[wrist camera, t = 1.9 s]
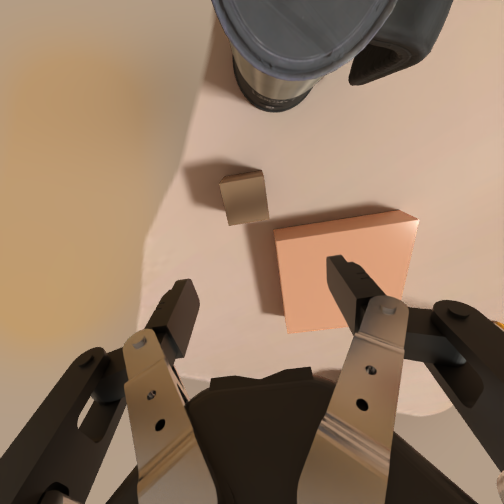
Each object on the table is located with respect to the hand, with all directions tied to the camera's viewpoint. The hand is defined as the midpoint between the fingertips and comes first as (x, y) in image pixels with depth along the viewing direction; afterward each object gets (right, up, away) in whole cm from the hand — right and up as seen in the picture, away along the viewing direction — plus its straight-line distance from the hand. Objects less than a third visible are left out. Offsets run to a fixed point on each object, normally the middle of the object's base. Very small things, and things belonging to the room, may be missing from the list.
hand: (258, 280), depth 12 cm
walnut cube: (-1, +10, +16) cm, 19 cm away
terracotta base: (+13, -2, +22) cm, 26 cm away
